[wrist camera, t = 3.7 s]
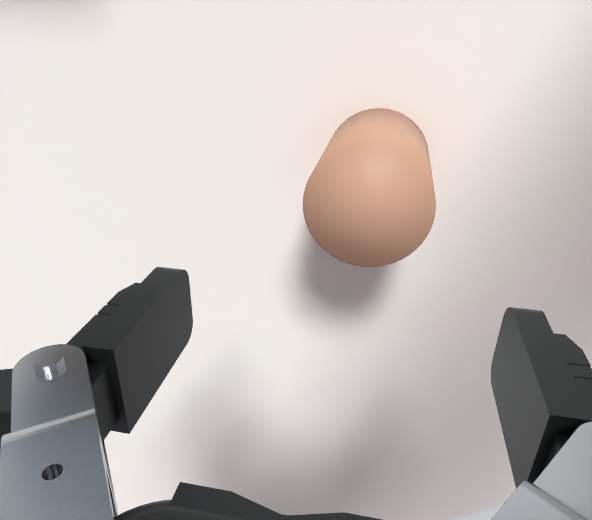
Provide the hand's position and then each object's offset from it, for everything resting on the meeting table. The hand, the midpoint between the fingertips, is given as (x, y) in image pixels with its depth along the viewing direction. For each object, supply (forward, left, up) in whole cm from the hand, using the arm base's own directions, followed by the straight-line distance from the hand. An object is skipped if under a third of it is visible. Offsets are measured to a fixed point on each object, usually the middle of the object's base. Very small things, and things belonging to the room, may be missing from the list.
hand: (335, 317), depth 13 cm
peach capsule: (0, 0, -15) cm, 15 cm away
